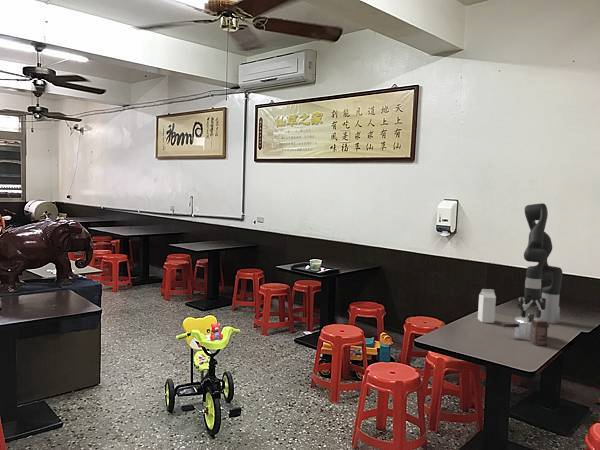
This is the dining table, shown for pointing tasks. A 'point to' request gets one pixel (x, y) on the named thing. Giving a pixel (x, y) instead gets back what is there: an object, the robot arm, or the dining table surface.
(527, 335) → the pot
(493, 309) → the milk carton
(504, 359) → the dining table surface
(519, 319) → the lid
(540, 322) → the box
